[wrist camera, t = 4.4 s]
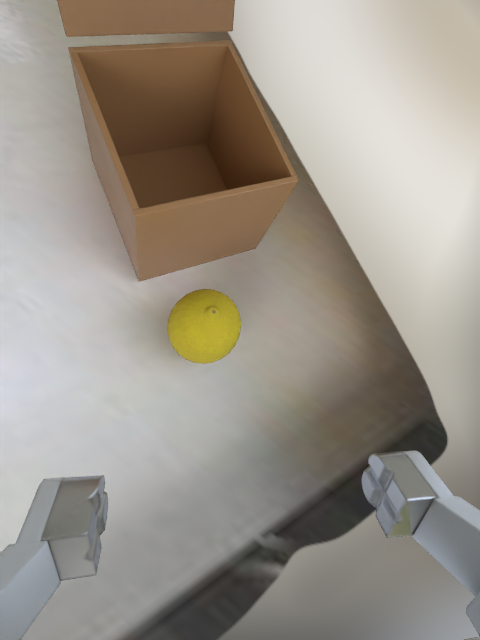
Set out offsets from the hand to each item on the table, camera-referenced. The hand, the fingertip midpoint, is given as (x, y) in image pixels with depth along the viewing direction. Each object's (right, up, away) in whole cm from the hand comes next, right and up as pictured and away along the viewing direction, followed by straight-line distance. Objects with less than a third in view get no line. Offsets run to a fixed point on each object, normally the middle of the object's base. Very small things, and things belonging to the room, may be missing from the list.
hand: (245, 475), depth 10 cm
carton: (-6, +16, +22) cm, 28 cm away
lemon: (-4, +3, +20) cm, 20 cm away
